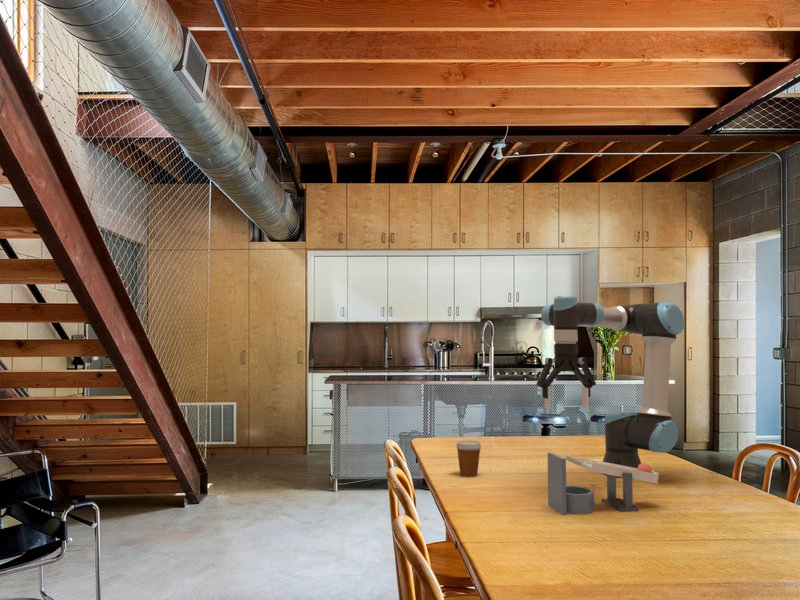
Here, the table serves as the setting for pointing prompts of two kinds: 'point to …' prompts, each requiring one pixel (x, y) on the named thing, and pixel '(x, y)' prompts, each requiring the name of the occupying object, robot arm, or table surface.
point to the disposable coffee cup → (468, 457)
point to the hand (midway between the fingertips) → (566, 408)
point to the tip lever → (614, 469)
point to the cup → (566, 490)
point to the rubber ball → (644, 467)
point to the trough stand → (627, 500)
